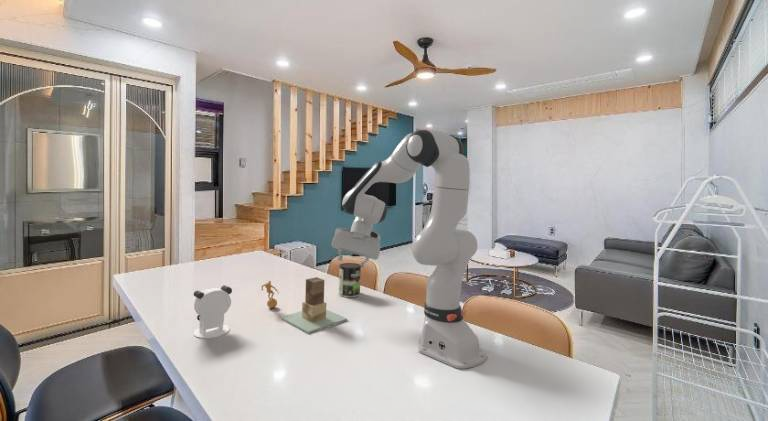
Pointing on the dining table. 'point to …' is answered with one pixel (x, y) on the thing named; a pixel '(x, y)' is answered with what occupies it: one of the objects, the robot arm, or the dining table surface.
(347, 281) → the coffee can
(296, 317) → the plate
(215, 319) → the panda figurine
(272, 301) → the figurine
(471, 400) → the dining table surface
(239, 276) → the dining table surface
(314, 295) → the walnut brick
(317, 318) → the base brick
